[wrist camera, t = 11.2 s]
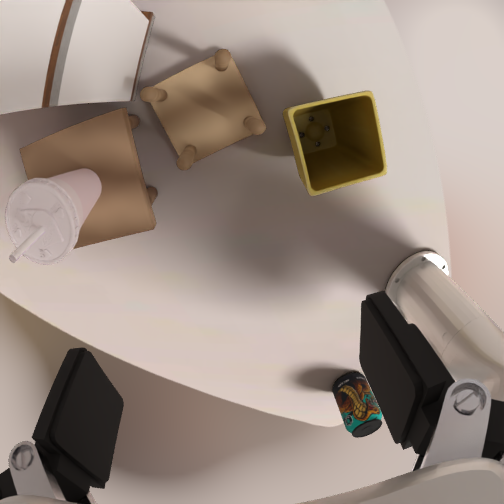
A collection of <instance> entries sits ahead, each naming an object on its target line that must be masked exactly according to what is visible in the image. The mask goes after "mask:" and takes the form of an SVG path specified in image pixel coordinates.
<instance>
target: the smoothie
mask: <svg viewBox="0 0 504 504" xmlns="http://www.w3.org/2000/svg"><path fill="white" fill-rule="evenodd" d="M101 189H102V186H101V181H100V179H99V177H98V176H97V174H96V173H95V172H93V171H92V170H90V169H86V168H82V169H78V170H74V171H71V172H67V173H64V174H60V175H57V176H53V177H50V178H34V179H30V180H27V181H26V182H24V183H23V184H21V185H20V186H19V187H17V188H16V189H15V190H14V191H13V193H12V194H11V195H10V197H9V199H8V202H7V205H6V211H5V222H6V227H7V231H8V234H9V236H10V239H11V241H12V242H13V244H14V245H15V247H16V248H17V249H16V250H15V251H14V252H12V253H11V254H10V256H9V259H10V261H11V262H12V263H15V262H16V261H17V260H18V259H19V258H20V257H21V256H22V255H23V256H25V257H26V258H28V259H29V260H31V261H33V262H35V263H38V264H43V265H51V264H55V263H58V262H60V261H61V260H63V259H64V258H65V257H66V256H67V255H68V254H69V253H70V252H71V251H72V250H73V248H74V246H75V244H76V242H77V241H78V236H79V231H80V228H81V226H82V225H83V223H84V221H85V220H86V218H87V216H88V215H89V213H90V211H91V210H92V208H93V206H94V205H95V203H96V201H97V200H98V198H99V197H100V194H101Z"/></svg>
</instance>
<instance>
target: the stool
mask: <svg viewBox="0 0 504 504" xmlns="http://www.w3.org/2000/svg"><path fill="white" fill-rule="evenodd" d="M139 124H140V119H139V117H138V116H136V115H131V116H128V113H127V108H120V109H117V110H114V111H111V112H108V113H105V114H103V115H100V116H97V117H94V118H91V119H89V120H86V121H83V122H81V123H78V124H76V125H73V126H71V127H68V128H66V129H63V130H61V131H58V132H56V133H54V134H51V135H49V136H47V137H45V138H42V139H40V140H38V141H36V142H34V143H31V144H29V145H27V146H25V147H23V148H21V149H20V153H21V157H22V160H23V164H24V168H25V171H26V174H27V178H28V180H30V179H34V178H50V177H53V176H57V175H60V174H64V173H67V172H71V171H74V170H78V169H82V168H86V169H90V170H92V171H93V172H95V173H96V174H97V176H98V177H99V179H100V181H101V186H102V189H101V194H100V197H99V198H98V200H97V201H96V203H95V205H94V206H93V208H92V210H91V211H90V213H89V215H88V216H87V218H86V220H85V221H84V223H83V225H82V226H81V228H80V231H79V236H78V241H77V242H76V244H75V246H74V248H73V249H75V248H79V247H83V246H87V245H91V244H95V243H99V242H103V241H107V240H111V239H115V238H119V237H123V236H127V235H132V234H136V233H140V232H144V231H149V230H153V229H154V227H155V225H156V220H155V217H154V214H153V210H152V207H151V206H152V204H153V202H154V200H155V199H156V197H157V195H158V192H157V189H156V188H154V187H148V188H147V189H146V185H145V182H144V178H143V174H142V171H141V167H140V163H139V159H138V155H137V151H136V147H135V143H134V139H133V135H132V130H131V129H134V128H136V127H138V125H139Z"/></svg>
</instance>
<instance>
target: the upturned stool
mask: <svg viewBox="0 0 504 504" xmlns="http://www.w3.org/2000/svg"><path fill="white" fill-rule="evenodd" d="M140 98H141V99H142V100H143V101H145V102H150V103H151V105H152V107H153V109H154V111H155V112H156V114H157V116H158V118H159V120H160V122H161V124H162V126H163V128H164V129H165V131H166V133H167V135H168V137H169V139H170V141H171V142H172V144H173V146H174V148H175V150H176V152H177V154H178V155H179V158H178V159H177V167H178V168H179V169H181V170H188V169H189V168H190V167H191V166H192V164H193V163H195V162H197V161H199V160H201V159H203V158H205V157H207V156H209V155H211V154H213V153H215V152H217V151H219V150H221V149H223V148H225V147H227V146H229V145H231V144H233V143H235V142H238V141H240V140H242V139H244V138H246V137H248V136H251V135H253V134H255V135H260V134H262V133H264V131H265V129H266V126H265V123H264V122H263V120H262V118H261V116H260V113H259V111H258V109H257V107H256V105H255V103H254V101H253V99H252V97H251V95H250V93H249V90H248V88H247V86H246V84H245V82H244V80H243V78H242V76H241V74H240V72H239V70H238V68H237V66H236V64H235V62H234V60H233V58H232V56H231V54H230V52H229V51H228V50H226V49H220V50H218V51H217V52H216V53H215V56H212V57H210V58H208V59H206V60H204V61H201V62H199V63H197V64H195V65H193V66H191V67H189V68H187V69H185V70H183V71H181V72H179V73H177V74H175V75H173V76H171V77H169V78H168V79H166V80H164V81H162V82H160V83H158V84H156V85H155V86H153V87H145V88H143V89H142V90H141V92H140Z"/></svg>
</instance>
